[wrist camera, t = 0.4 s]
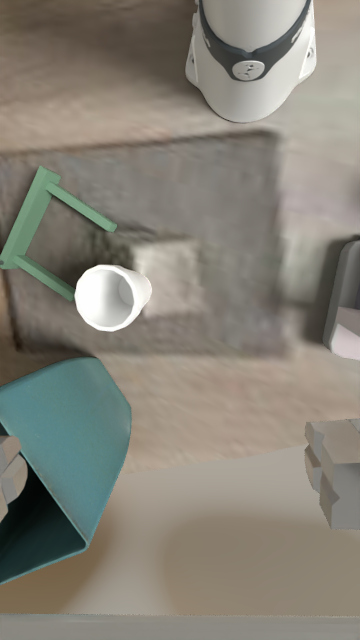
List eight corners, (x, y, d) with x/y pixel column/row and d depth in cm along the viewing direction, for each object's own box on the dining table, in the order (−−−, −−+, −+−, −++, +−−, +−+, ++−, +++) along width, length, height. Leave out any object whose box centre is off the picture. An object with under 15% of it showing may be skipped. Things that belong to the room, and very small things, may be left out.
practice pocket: (121, 217, 52) (66, 197, 35) (73, 305, 57) (4, 326, 40) (54, 172, 53) (-34, 129, 35) (12, 264, 58) (-83, 266, 40)
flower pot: (27, 376, 62) (-132, 469, 35) (100, 329, 57) (-20, 393, 30) (81, 453, 64) (-31, 599, 37) (157, 414, 59) (92, 548, 32)
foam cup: (106, 267, 55) (68, 270, 42) (155, 259, 53) (130, 259, 40) (116, 317, 56) (83, 335, 44) (163, 311, 55) (143, 327, 42)
